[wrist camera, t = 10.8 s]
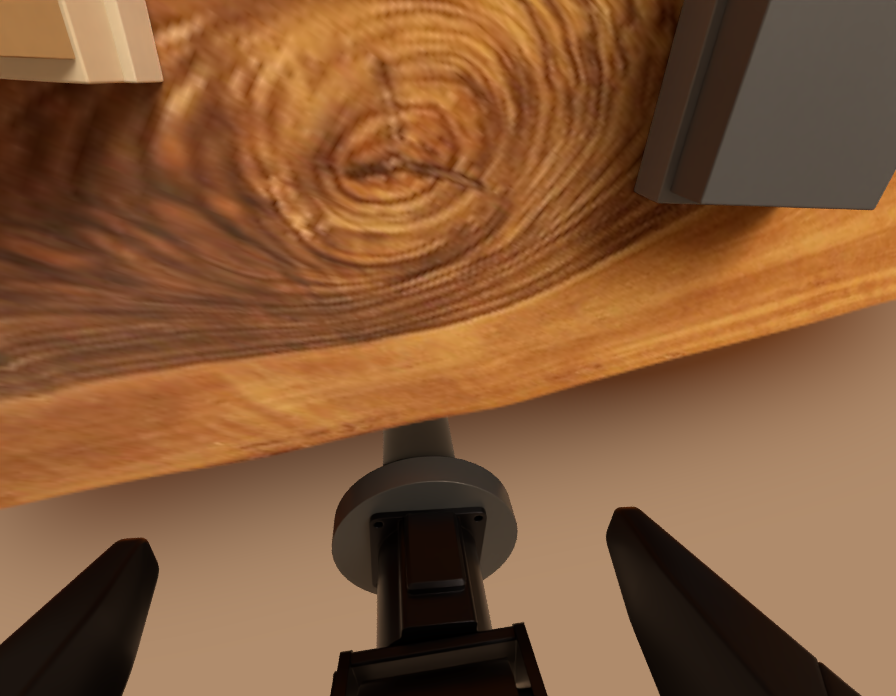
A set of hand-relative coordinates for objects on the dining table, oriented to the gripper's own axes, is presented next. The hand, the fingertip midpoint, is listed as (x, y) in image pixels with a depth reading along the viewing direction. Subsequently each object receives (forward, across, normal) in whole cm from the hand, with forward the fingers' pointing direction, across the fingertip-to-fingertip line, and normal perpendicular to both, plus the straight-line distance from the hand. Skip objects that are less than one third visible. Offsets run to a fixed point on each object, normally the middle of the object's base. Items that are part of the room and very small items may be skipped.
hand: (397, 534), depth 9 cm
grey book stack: (+13, -14, -9) cm, 21 cm away
